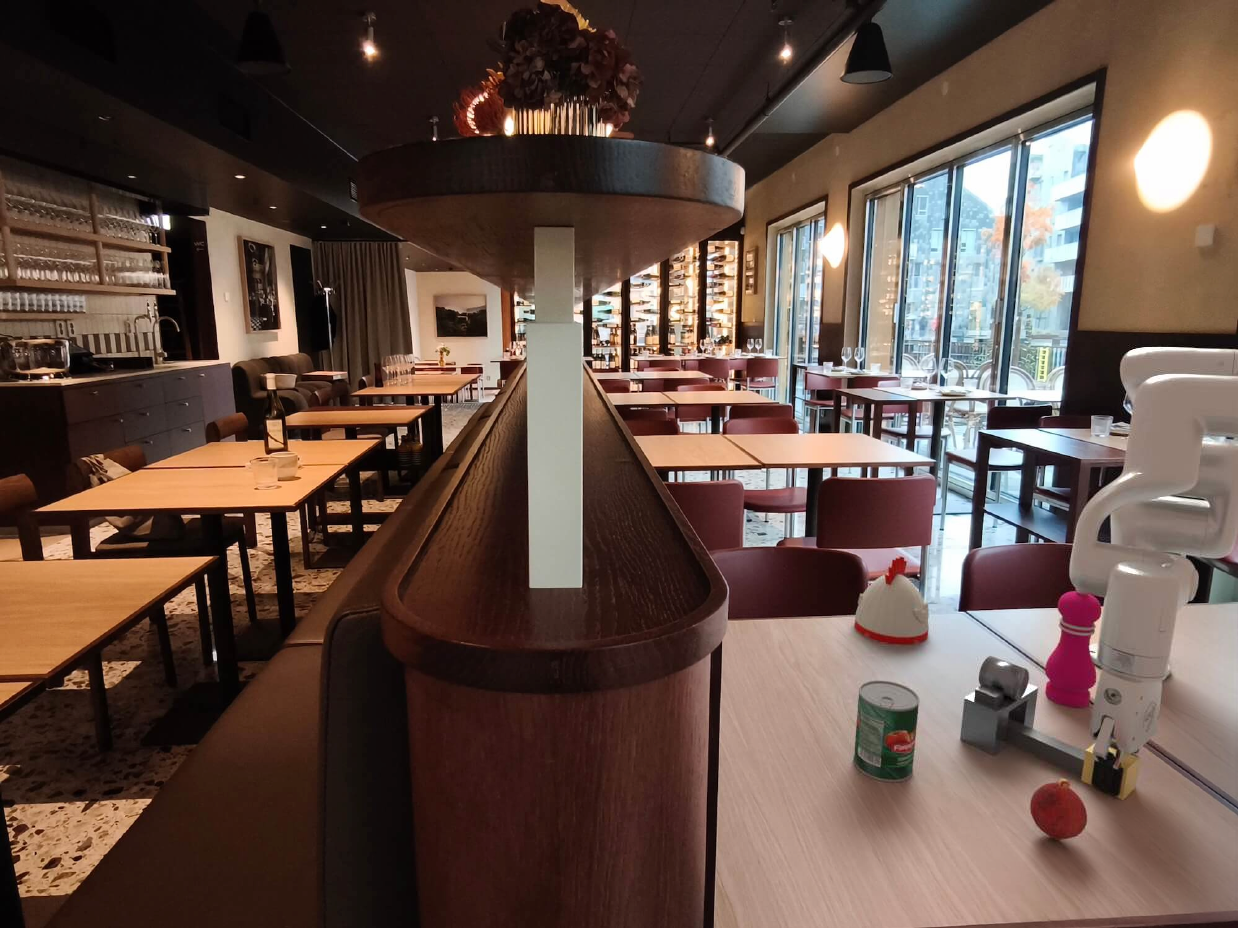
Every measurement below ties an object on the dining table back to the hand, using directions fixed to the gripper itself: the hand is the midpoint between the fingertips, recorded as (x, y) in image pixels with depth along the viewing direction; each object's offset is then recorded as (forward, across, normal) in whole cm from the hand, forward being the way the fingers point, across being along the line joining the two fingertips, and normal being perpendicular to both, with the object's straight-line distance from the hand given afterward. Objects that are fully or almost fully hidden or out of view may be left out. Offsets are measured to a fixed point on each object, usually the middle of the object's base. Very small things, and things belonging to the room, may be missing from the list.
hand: (1112, 782), depth 98 cm
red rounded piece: (+1, -17, 0) cm, 17 cm away
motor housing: (+1, 0, +16) cm, 16 cm away
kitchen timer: (+1, +20, +47) cm, 51 cm away
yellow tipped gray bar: (+1, 0, +8) cm, 8 cm away
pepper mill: (+1, +20, +14) cm, 25 cm away
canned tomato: (+1, -21, +21) cm, 30 cm away
